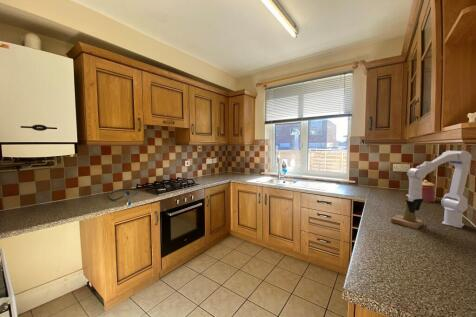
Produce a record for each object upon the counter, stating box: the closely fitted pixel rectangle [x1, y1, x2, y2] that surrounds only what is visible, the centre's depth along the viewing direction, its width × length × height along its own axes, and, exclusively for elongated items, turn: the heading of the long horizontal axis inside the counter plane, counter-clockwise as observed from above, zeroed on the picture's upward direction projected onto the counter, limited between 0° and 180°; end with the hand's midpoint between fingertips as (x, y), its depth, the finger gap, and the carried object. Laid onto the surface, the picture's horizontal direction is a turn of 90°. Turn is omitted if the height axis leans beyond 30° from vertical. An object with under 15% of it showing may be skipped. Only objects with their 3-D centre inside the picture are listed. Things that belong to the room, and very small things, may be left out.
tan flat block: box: [390, 214, 424, 230], centre depth 121 cm, size 12×12×2 cm
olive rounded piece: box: [403, 201, 417, 222], centre depth 119 cm, size 6×6×11 cm
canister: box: [422, 179, 437, 203], centre depth 169 cm, size 13×13×18 cm
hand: (414, 211), depth 118 cm, fingers open, 7 cm apart
